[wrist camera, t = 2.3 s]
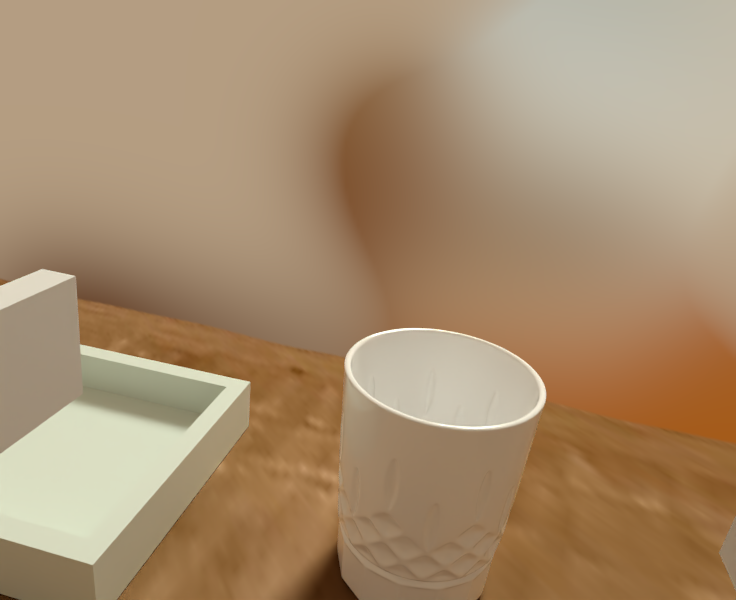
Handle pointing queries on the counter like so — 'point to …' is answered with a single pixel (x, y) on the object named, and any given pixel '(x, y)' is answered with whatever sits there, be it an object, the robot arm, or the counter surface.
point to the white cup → (430, 461)
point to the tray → (111, 474)
